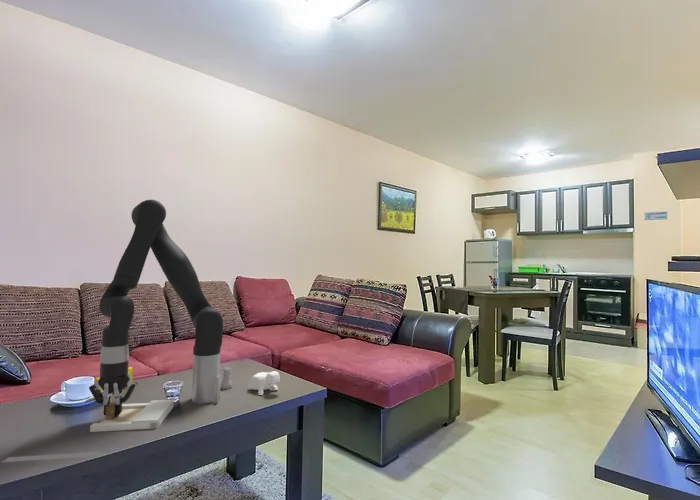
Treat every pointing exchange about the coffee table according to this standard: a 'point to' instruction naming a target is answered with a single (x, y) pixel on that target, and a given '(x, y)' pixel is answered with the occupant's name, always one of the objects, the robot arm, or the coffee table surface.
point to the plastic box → (139, 417)
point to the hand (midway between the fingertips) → (112, 415)
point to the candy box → (130, 375)
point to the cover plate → (123, 416)
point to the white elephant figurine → (264, 381)
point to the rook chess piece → (226, 379)
